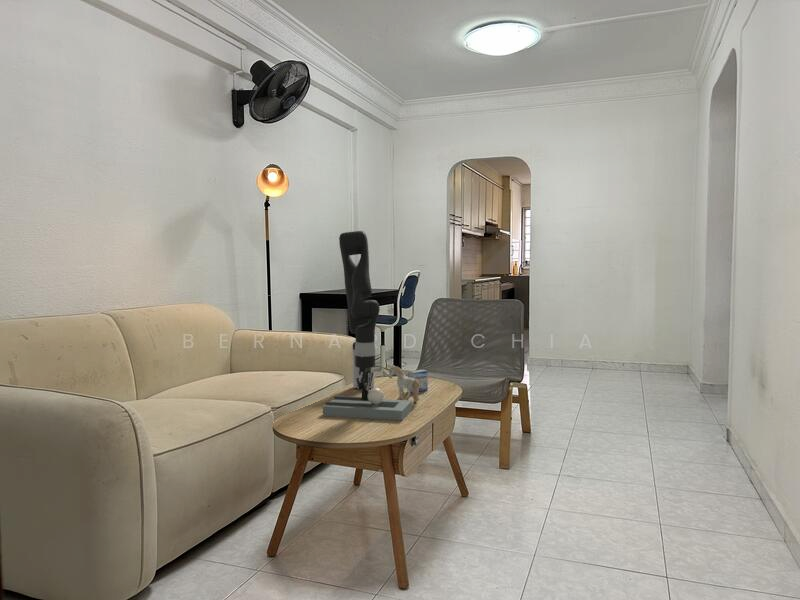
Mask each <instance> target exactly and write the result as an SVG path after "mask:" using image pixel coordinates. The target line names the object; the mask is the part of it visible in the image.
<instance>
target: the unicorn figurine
mask: <svg viewBox="0 0 800 600" xmlns="http://www.w3.org/2000/svg"><path fill="white" fill-rule="evenodd" d="M381 368H382V369H384V370H386V371H388V379H392V378H393V376H395V374H396V376H397V379H396V385H397V387H398V393H399V394H398V395H399V396H398V397H397V400H403V399H404V400H408V401H409V399H410V396H411V393H412V398H413V400H412V403H414V402H415V403H418V402H419V401H420V399H419V393H420V392H419V386H420V385H419V382H418V381H417V380H416V379H414V378H408V376H406V374H405V372H404V370H403V368H400V367H399V366H398V365H397V366H396V365H393V366H389V368H387V367H383V366H380V369H381ZM411 388H413V392H410V390H411ZM404 389H406V390H407V395H406V392H405V391H404Z"/></svg>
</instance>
